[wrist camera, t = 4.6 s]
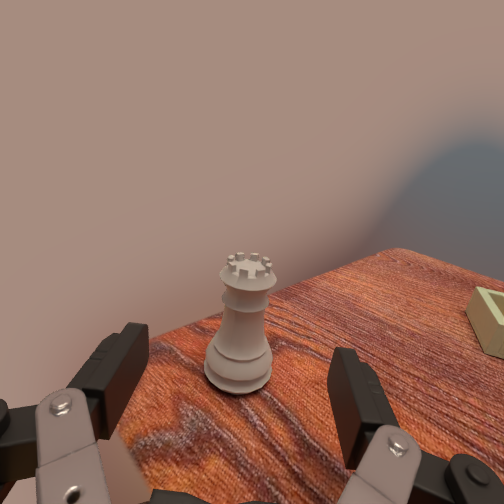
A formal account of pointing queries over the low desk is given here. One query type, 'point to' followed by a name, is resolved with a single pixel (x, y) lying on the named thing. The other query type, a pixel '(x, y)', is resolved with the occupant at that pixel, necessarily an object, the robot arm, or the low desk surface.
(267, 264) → the rook chess piece
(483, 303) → the socket pad
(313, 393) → the low desk surface
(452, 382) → the low desk surface
